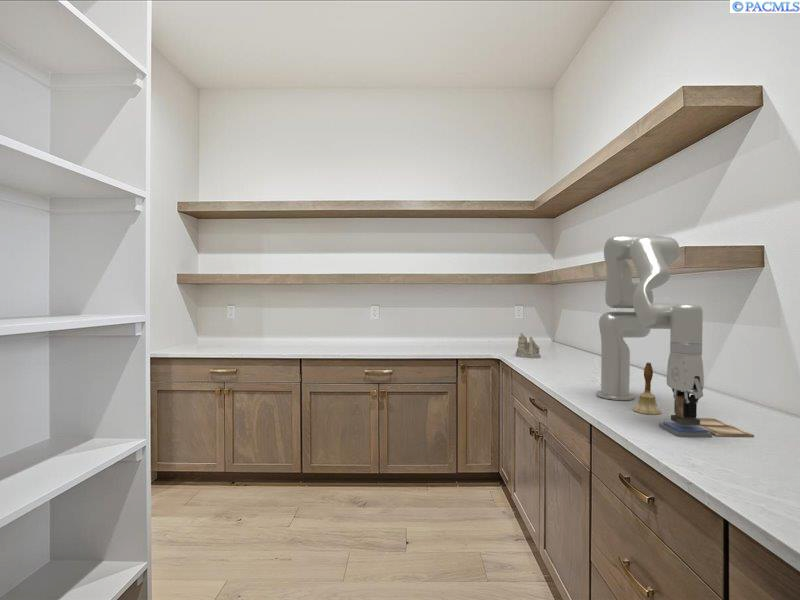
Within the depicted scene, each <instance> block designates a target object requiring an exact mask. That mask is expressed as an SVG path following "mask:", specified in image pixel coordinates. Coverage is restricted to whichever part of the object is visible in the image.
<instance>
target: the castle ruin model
mask: <svg viewBox="0 0 800 600" xmlns="http://www.w3.org/2000/svg"><path fill="white" fill-rule="evenodd" d="M517 346H518V347H517V348H516V351H515V357H517V358H523V359H525V358H526V359H541V358H542V355H541V353H540V349H541V347H539V346H538V344H537V343H536V342H535V340H534V339H533V336H529V342H528V338H527V336H525V335H524V334H523V332H520V336H518V341H517Z"/></svg>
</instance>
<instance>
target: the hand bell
mask: <svg viewBox="0 0 800 600" xmlns="http://www.w3.org/2000/svg"><path fill="white" fill-rule="evenodd" d="M653 370H654V369H653V367H652V363H651V362H646V364H645V367H644V369H643V378H644V381H645V383H644V392H643V393H640V394H639V397H638V402H637V404H636V405H635V406H634V407H633V408H632V411H633V412H635V413H638V414H643V415H651V416H652V415H653V416H657V415H661V414H663V413H662V412H663V411H662V410H660V408H659V407H658V404H657V401H656V396H655V395H654V394H653V393H652V391H651V390H652V389H651V385H652V380H653V375H654V371H653Z"/></svg>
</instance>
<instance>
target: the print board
mask: <svg viewBox="0 0 800 600" xmlns="http://www.w3.org/2000/svg"><path fill="white" fill-rule="evenodd" d="M696 418H697V419H699V420H700V425H697V426H699V427H701V428H704V429H706V430H708V432H710V433H712V436H714V437H717V438H718V437H719V438H720V437H723V438H724V437H725V438H727V437H728V438H729V437H730V438H731V437H732V438H733V437H734V438H740V437H741V438H755V434H754V433H752V432H751V433H750V432H748V431H745V430H744V429H741V428H739V427H736V426H733V425H731V424H728V423H726V422H724V421H722V420H718V419H717V418H711V417H710V418H708V417H705V418H704V417H701V418H698V417H696Z"/></svg>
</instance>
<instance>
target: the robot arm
mask: <svg viewBox="0 0 800 600" xmlns="http://www.w3.org/2000/svg"><path fill="white" fill-rule="evenodd" d="M680 253H681V248H680V244H679V243H678V241H677V240H676V239H674V238H673V237H671V236H662V235H654V234H653V235H650V234H647V235H643V234H641V235H639V234H634V235H633V234H621V235H620V234H619V235H613V236H611V237H609V238H608V239H606V242H605V243H604V247H603V258H604V263H605V268H606V276H605V291H604V293H605V295H604V298H605V299H604V300H605V304H606V305H607V306H608V307H609V308H614V309H634V311H607V312H605V313H603V314H601V315H600V317H599V319H598V326H599V327H598V328H599V333H600V342H601V346H600V347H601V353H600V354H601V356H600V357H601V360H600V367H601V368H600V369H601V370H600V372H601V373H600V375H601V376H600V390H597V391H596V392H595V394H596V396H597V397H599V398H601V399H607V400H613V401H631V400H634V399H635V395H634V394H633V393H630V380H631V379H630V378H631V377H630V375H631V374H630V372H631V371H630V368H631V365H630V362H631V360H630V359H631V355H630V354H631V351H630V347H629V345H628V344H627V342H626V341H625V340H624V338H625V339H626V338H645V337H647V336H648V335H650V333H651V330H653V329H654V330H656V329H657V330H670V332H669V333H670V335H669V337H670V340H669V341H670V342H669V343H670V344H669V345H670V346H669V347H670V348H669V355H668V360H667V369H666V386H668V387H669V388H670V390H671V391H672V393H673V394H672V395H673V398H674V400H675V396H685V402H686V403H684V417H685V418H697V412H698V411H697V409H698V407H697V405H698V404H699V400H700V399H701V398H702V397H704V392H703V391H704V386H705V382H704V381H705V379H704V377H705V376H704V363H703V357H702V356H703V323H704V322H703V315H704V314H703V313H704V312H703V308H702V306H700V305H699V304H685V303H674V302H673V303H669V302H663V303H660V302H659V303H658V302H654V294H653V290H654V289H656V288H658V287H661V286H663V285H665V284H666V283H667V282H668V281H669V279H671V271H670V268H669V267H668V264H672V263H675V262H676V261H677V260H678V259H679V257H680V256H681V255H680ZM628 260H632V263H633V264H634V267H635V270H636V273H637V275H638V278H639V282H638V281H637V282H633V268H632V266H631V264H630V263H629V262H628ZM674 413H675V402H674Z"/></svg>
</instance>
